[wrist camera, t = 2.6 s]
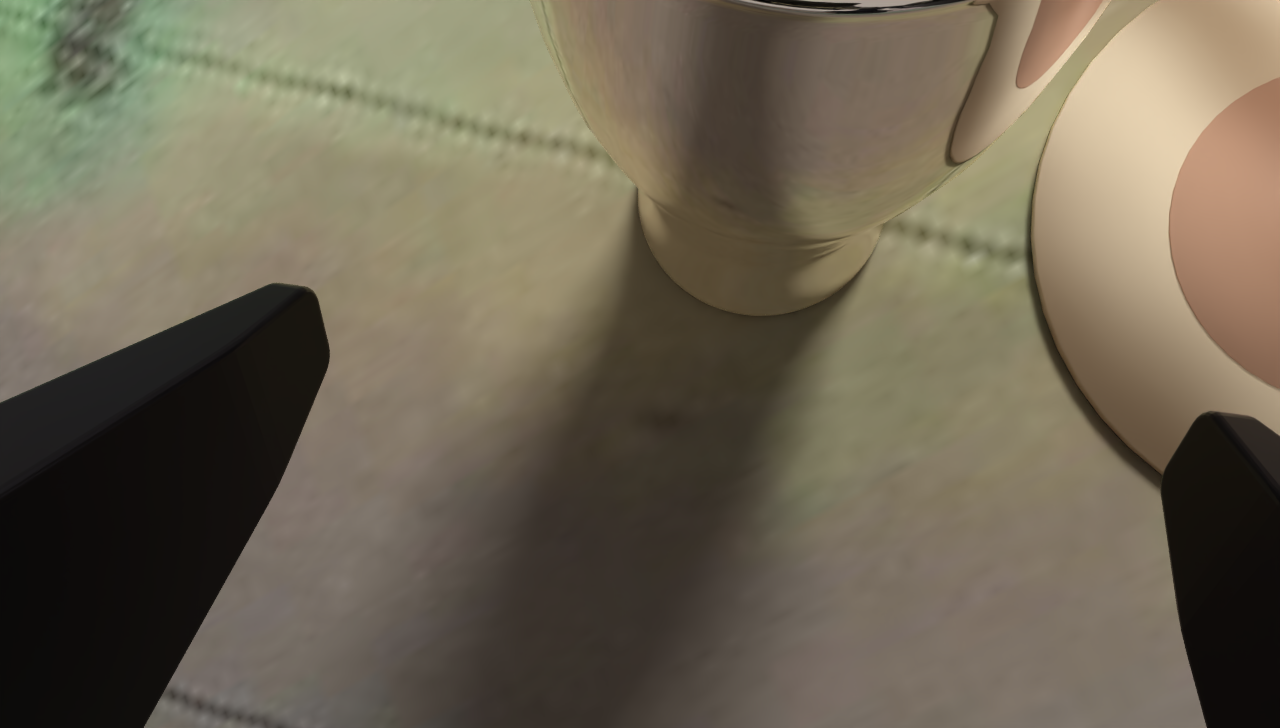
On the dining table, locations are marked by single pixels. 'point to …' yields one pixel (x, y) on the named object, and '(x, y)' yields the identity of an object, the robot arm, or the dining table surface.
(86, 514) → the robot arm
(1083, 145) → the coaster
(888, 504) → the dining table surface
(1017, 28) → the silver tall cup
